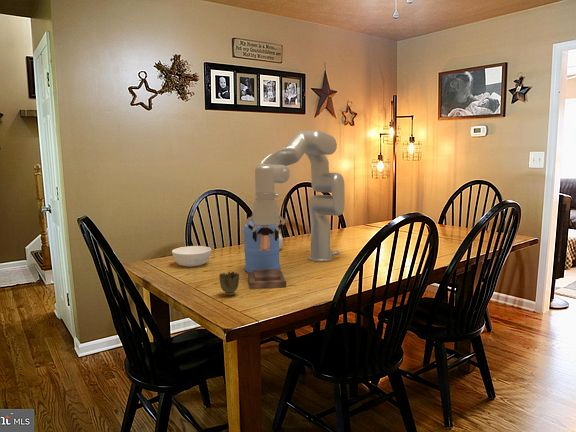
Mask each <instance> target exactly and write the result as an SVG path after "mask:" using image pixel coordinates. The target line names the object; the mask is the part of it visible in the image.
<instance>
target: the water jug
mask: <svg viewBox="0 0 576 432" xmlns="http://www.w3.org/2000/svg"><path fill="white" fill-rule="evenodd" d="M249 224H250V225H251V226H252V227H253V226H254V224H253V221H252V220H251V221H250V222H249ZM278 224H279V223H278ZM278 224H277V226H278ZM261 228H263V227H262V226H258V227H257V228H256V234H257V232H258V231H259V230H260V229H261ZM267 228H270V229H271V230H272V231H274V235H275V227H274V225H270V226H268V227H267ZM243 236H244V249H243V251H244V270H245V272H247V273H248V272H253V270H260V269H277V270H278V271H281V270H280V269H281V264H280V251H281V250H280V247H279V238H278V239H277V241H275V237H273V235H272V234H269V236H270V248H269V249H270V251H265V249H264V250H263V251H259V249H260V239H261V234H259V237H258V238H257V241H256V242H255V241H254V239H253V231H252V230H251V229H249V228H248V226H247V225H246V224H245V223H244V225H243Z"/></svg>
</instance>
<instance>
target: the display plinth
mask: <svg viewBox="0 0 576 432" xmlns="http://www.w3.org/2000/svg"><path fill="white" fill-rule="evenodd" d="M247 279H248V283H249V288H250V290H261V289H262V290H263V289H279V288H281V289H282V288H287V279H286V278H285V276H284V274H283V272H282V270H279V271H278V270H277V269H260V270H253V272H247Z"/></svg>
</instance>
